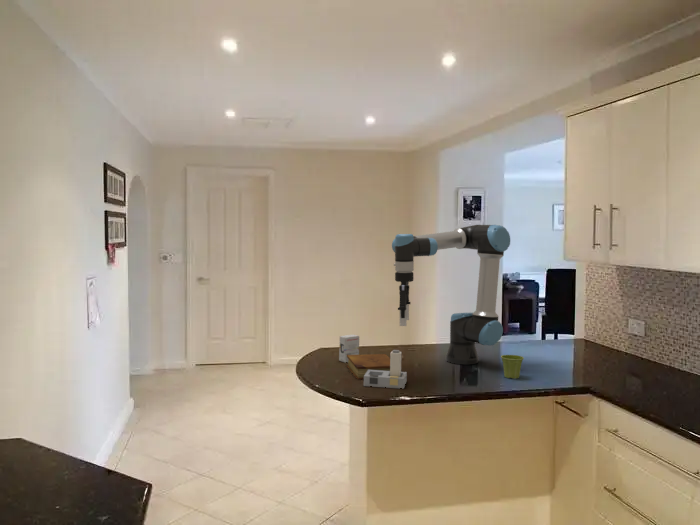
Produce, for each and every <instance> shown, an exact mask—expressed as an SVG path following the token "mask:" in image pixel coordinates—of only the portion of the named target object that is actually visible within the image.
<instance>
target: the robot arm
mask: <svg viewBox="0 0 700 525" xmlns="http://www.w3.org/2000/svg"><path fill="white" fill-rule="evenodd" d="M510 245H511V234H510V232H509V231H508V229H507V228H506V227H504V226H503V225H497V224H474V225H469V226H465V227H457V228H455V229H454V230H451V231H445V232H443V231H442V232H435V233H427V234H420V235H414V234H412V233H399V234H396V235H395V238H394V239H393V241H392V242H391V248H392V252H394V261H395V262H394V263H393V266H394V271H395V273H394V274H395V275H394V279H395V280H394V281H396V282H398V283H400V285H399V286H398V290H399V307H397V311H399V327H407V321H409V320H410V305H411V301H410V285H409V283H411V282H413V281H414V272H413V271H414V269H415V268H414V266H415V265H414V264H415V263H414V261H415V260H414V258H415V257H432V256H434V255H436V254H437V252H438V251H439V250H446V249H453V248H456V249H458V250H462V249H465V250H466V249H468V250H476V251H477V256H478V257H479V258H480V259H479V270H478V282H477V294H476V308H475V311H474V312H456V313H452V314H451V316H450V324H449V325H450V327H449V328H450V329H449V330H450V332H449V333H450V334H449V336H450V337H449V346H448V349H447V352H446V354H445V361H446V362H447V361H448V362H447V363H450V362H451V364H454V363H455V364H457V365H474V364H478V363H479V355H478V352H477V349H476V344H480V345H483V346H489V347H490V346H494V345H496V344H498V342H500V340H501V338H502V336H503V332H504V328H503V324H502V323H501V322H500V321H499V315H498V314H497V311H496V309H497V299H498V296H497V295H498V284H499V275H500V274H499V271H500V260H501V258H503V257H504V254H505V251H507V250H508V249H509V247H510Z"/></svg>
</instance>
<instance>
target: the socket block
mask: <svg viewBox="0 0 700 525" xmlns="http://www.w3.org/2000/svg"><path fill="white" fill-rule="evenodd" d="M407 377H408V374H407V371H401V377H399V376H390V371H383V370H368V371H367V372H366V374H365V375H364V379H363V387H370V386H372V388H385V387H386V388H385V389H400V388H402V389H405V386H406V385H405V384H407V381H408V380H407V379H408V378H407ZM402 389H401V390H402Z"/></svg>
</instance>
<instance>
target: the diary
mask: <svg viewBox="0 0 700 525" xmlns="http://www.w3.org/2000/svg"><path fill="white" fill-rule="evenodd" d="M347 358H348V362H347V365H346V367H347V369H348V368H349V369H348V370H349V371H350V373H351V374H352V373H353V374H352V375H353V376H354V377H355V379H356V378H357V379H356V380H364V375H365V374H366V372H367V371H368V370H383V371H390V357H389V356H388V355H387V354H386V353H376V354H375V353H374V354H371V353H370V354H369V353H368V354H359V355H347Z"/></svg>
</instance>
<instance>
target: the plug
mask: <svg viewBox="0 0 700 525" xmlns="http://www.w3.org/2000/svg"><path fill="white" fill-rule="evenodd" d="M389 358H390V376H399V377H401V372H402V351H400V349H393V350H392V351H391V352H390V357H389Z"/></svg>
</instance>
